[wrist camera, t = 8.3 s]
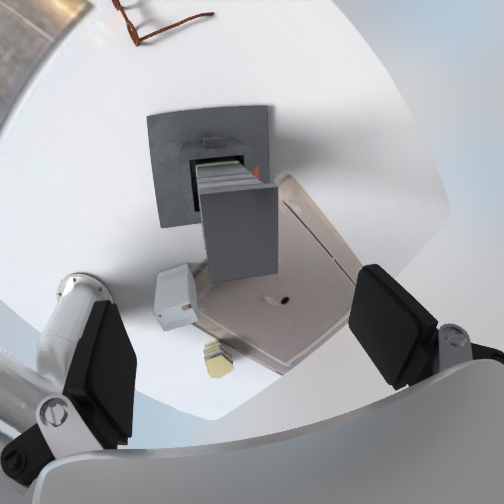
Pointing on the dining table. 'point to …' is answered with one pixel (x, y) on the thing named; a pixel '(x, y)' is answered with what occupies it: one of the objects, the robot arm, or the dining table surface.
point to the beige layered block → (217, 359)
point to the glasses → (137, 41)
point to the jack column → (237, 220)
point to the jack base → (202, 153)
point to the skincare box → (176, 298)
